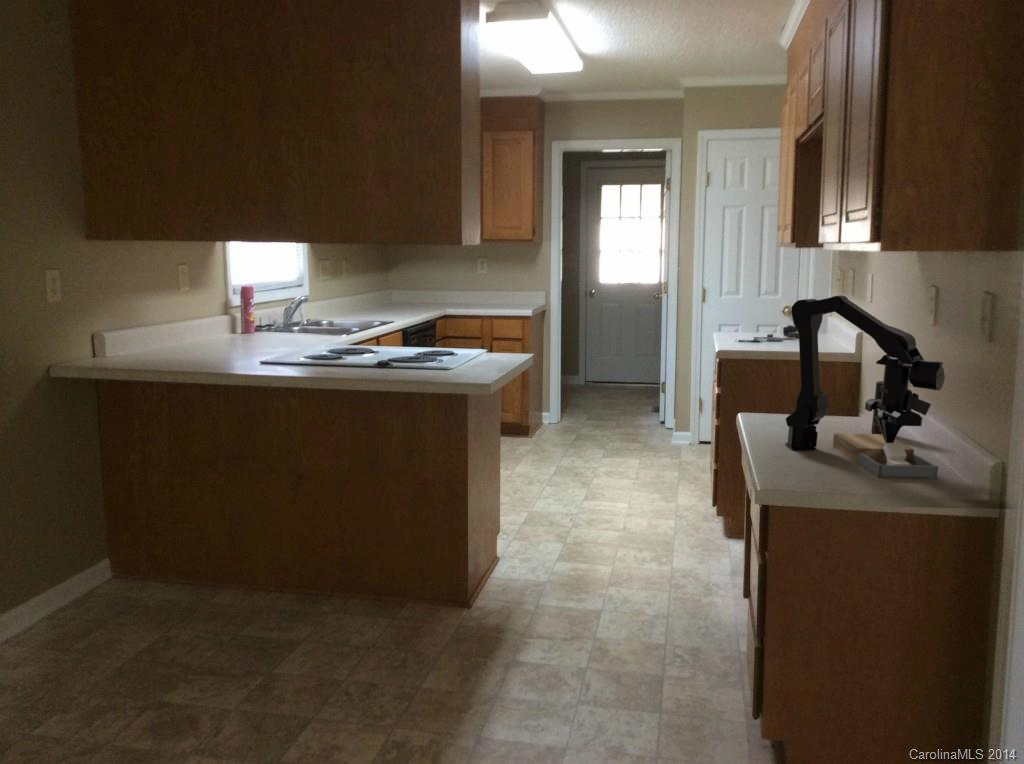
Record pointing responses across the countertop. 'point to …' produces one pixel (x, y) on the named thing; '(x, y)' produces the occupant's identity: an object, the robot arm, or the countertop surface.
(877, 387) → the deodorant
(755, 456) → the countertop surface
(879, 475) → the tray
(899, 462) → the tile
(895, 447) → the tile
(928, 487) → the countertop surface
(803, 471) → the countertop surface
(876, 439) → the wooden block
